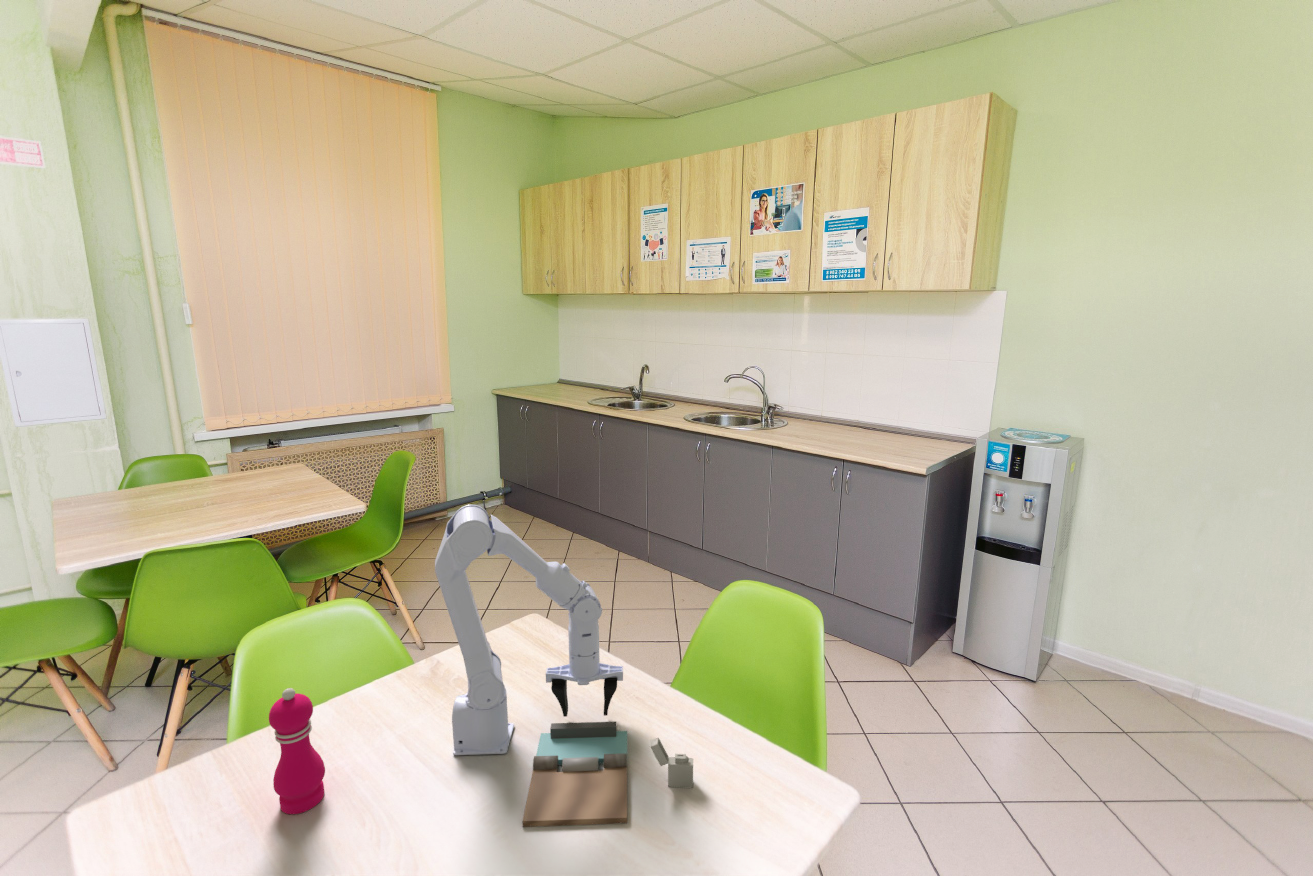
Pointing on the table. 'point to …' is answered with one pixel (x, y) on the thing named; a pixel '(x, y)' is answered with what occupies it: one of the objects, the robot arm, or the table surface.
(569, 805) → the fixed leaf
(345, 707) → the table surface
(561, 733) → the teal hinge plate
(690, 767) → the lighter
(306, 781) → the pepper mill
